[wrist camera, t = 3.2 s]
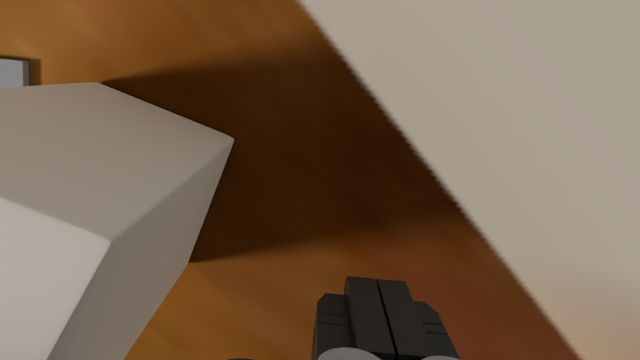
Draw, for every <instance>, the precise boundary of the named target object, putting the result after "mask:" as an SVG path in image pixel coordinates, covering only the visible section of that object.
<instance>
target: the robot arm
mask: <svg viewBox="0 0 640 360" xmlns="http://www.w3.org/2000/svg"><path fill="white" fill-rule="evenodd" d="M229 360H252V359H241V358H238V359H229ZM311 360H460V358H459V356H458V354H457V352H456V350H455V348H454V346H453V344H452V341H451V339H450V337H449V336H448V333H447V331H446V329H445V327H444V326H443V323H442V321H441V319H440V317H439V315H438V313H437V312H436V311H435V310H434V309H432V308H431V307H430V306H429V305H428V304H426V303H425V302H417V301H413V300H412V297H411V295H410V292H409V290H408V287H407V285H406V283H405V282H404V281H393V280H382V279H376V280H375V279H370V278H360V277H349V276H347V277H346V281H345V288H344V295H340V294H329V293H325V294H324V295H323V296H322V298H321V299H320V300H319V301H318V302H317V310H316V319H315V328H314V338H313V347H312V357H311Z"/></svg>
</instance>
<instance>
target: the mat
mask: <svg viewBox="0 0 640 360" xmlns="http://www.w3.org/2000/svg"><path fill="white" fill-rule="evenodd" d="M22 86H29V61H21V60H11V59H1V58H0V88H6V87H22Z"/></svg>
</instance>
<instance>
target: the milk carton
mask: <svg viewBox="0 0 640 360" xmlns="http://www.w3.org/2000/svg"><path fill="white" fill-rule="evenodd" d="M233 143H234V139H233V138H232V137H230V136H228V135H226V134H224V133H221V132H219V131H216V130H214V129H211V128H209V127H207V126H204V125H202V124H199V123H197V122H194V121H192V120H189V119H187V118H184V117H182V116H179V115H177V114H174V113H172V112H170V111H167V110H165V109H162V108H160V107H157V106H155V105H152V104H150V103H147V102H145V101H142V100H140V99H137V98H135V97H133V96H130V95H128V94H125V93H123V92H120V91H118V90H115V89H113V88H110V87H108V86H105V85H102V84H100V83H95V82H89V83H72V84H56V85H39V86H22V87H6V88H0V360H123V359H124V358H125V356H126V355H127V353H128V352H129V350H130V349H131V347H132V346H133V344H134V343H135V341H136V340H137V339H138V337H139V336H140V334H141V333H142V331H143V330H144V328H145V327H146V325H147V324H148V322H149V321H150V319H151V318H152V316H153V315H154V313H155V312H156V311H157V309H158V308H159V306H160V305H161V303H162V302H163V300H164V299H165V297H166V296H167V294H168V293H169V291H170V290H171V288H172V287H173V285H174V284H175V283H176V281H177V280H178V278H179V277H180V275H181V274H182V272H183V271H184V269H185V268H186V266H187V264H188V261H189V259H190V256H191V254H192V251H193V248H194V246H195V243H196V240H197V238H198V235H199V233H200V230H201V227H202V225H203V222H204V219H205V217H206V214H207V211H208V209H209V206H210V204H211V201H212V198H213V196H214V193H215V190H216V188H217V185H218V182H219V180H220V177H221V175H222V172H223V169H224V167H225V164H226V161H227V159H228V156H229V153H230V151H231V148H232V146H233Z"/></svg>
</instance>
